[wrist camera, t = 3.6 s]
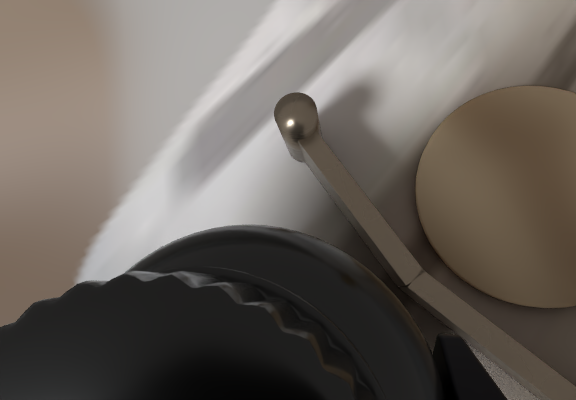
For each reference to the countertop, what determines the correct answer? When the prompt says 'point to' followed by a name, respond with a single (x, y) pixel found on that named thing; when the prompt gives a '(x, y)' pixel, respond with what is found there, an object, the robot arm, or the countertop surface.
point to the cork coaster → (505, 194)
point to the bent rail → (409, 255)
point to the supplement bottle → (223, 328)
